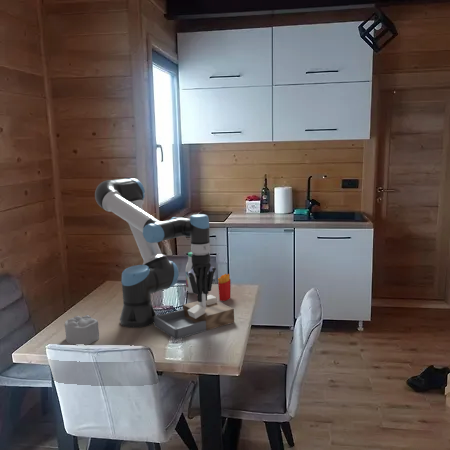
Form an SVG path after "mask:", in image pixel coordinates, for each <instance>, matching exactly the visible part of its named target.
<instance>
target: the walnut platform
mask: <svg viewBox="0 0 450 450" xmlns="http://www.w3.org/2000/svg"><path fill="white" fill-rule="evenodd" d="M195 305H199V302H198V300H196V301H192V302H189V303H188V302H187V303H183V304H182V309H184V313H185V317H187V318H189V319H190V320H192V321H194V322H196V323H197V322H201V321H204V320H205V321H206V331H209V330H213V329H216V328H220V327H223V326H226V325H230V324H233V323H235V309H234V307H231V306H229V305H227V304H225V303H223V302H220V301H218V300H217V303H215V304H211V305H206V309H205V313H204V314H203V315H201V316H199V317H198V318H196V319H195V318H193V317H191V316H189V314H188V311H187V310H189V309H190V308H192V307H194V306H195Z"/></svg>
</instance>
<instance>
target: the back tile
mask: <svg viewBox="0 0 450 450" xmlns="http://www.w3.org/2000/svg"><path fill="white" fill-rule="evenodd" d="M217 299H218V298H217V297H216V296H214V295H213V294H207V301H206V305H211V304H215V303H217V301H218V300H217Z"/></svg>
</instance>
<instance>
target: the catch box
mask: <svg viewBox="0 0 450 450" xmlns="http://www.w3.org/2000/svg"><path fill="white" fill-rule="evenodd" d="M153 324H154V327H156V328H157V329H159V330H160V331H161V332H163V331H164V332H163V333H165V334H166V333H167V335H168V336H170V337H171V338H173V339H174V338H175V339H174V340H179V339H181V338H186V337H188V336H192V334H193V335H195V334H199V333H203V332H206V331H207V330H206V321H205V320H204V321H201V322H197V323H196V322H194V321H192V320H190V319H189V318H187V317H185V313H184V309H183V308H182V309H178V310H174V311H170V312H168V313H167V312H166V313H163V314H158V315H156V316H154V323H153ZM185 336H186V337H185Z"/></svg>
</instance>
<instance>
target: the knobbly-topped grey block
mask: <svg viewBox="0 0 450 450" xmlns="http://www.w3.org/2000/svg"><path fill="white" fill-rule="evenodd" d="M64 330H65V341H66V342H67V343H68V344H69V343H70V345H73V344H84V345H85V346H89V345H91V344H92V343H94V342H96V341H98V340H99V339H100V330H99V320H98V319H96V318H93V317H92V316H90V315H88V314H86V315H84V316H80V315H75V316H74V317H70V318H69V319H66V320H65V322H64Z"/></svg>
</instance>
